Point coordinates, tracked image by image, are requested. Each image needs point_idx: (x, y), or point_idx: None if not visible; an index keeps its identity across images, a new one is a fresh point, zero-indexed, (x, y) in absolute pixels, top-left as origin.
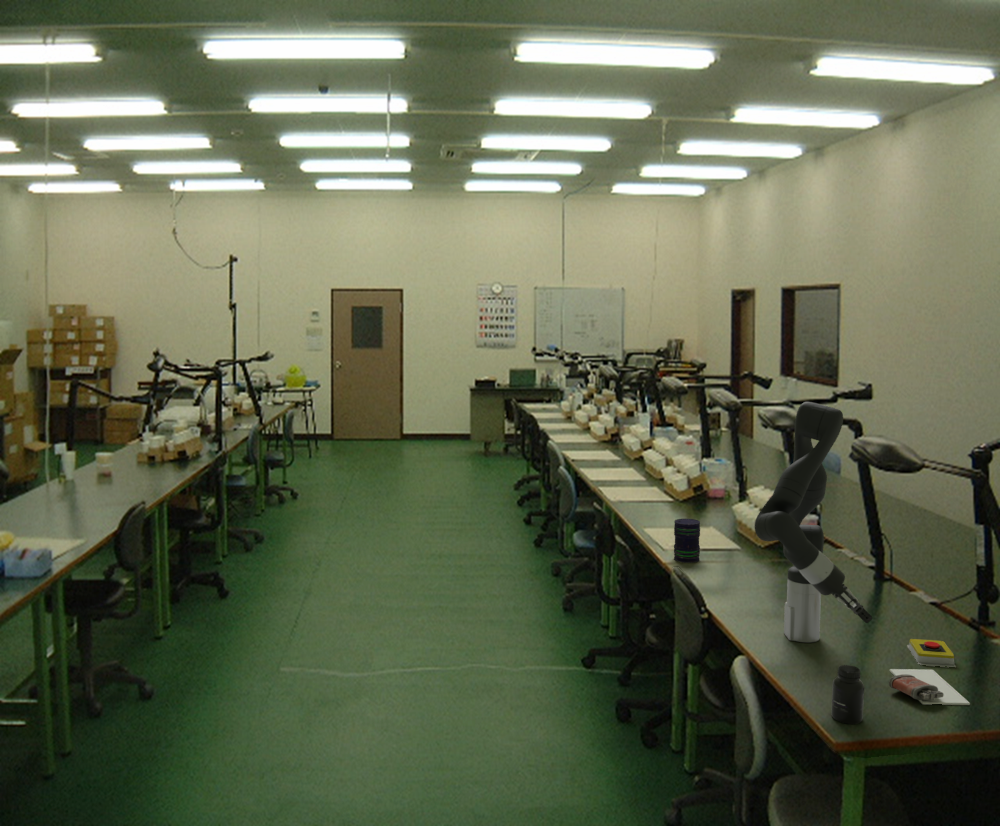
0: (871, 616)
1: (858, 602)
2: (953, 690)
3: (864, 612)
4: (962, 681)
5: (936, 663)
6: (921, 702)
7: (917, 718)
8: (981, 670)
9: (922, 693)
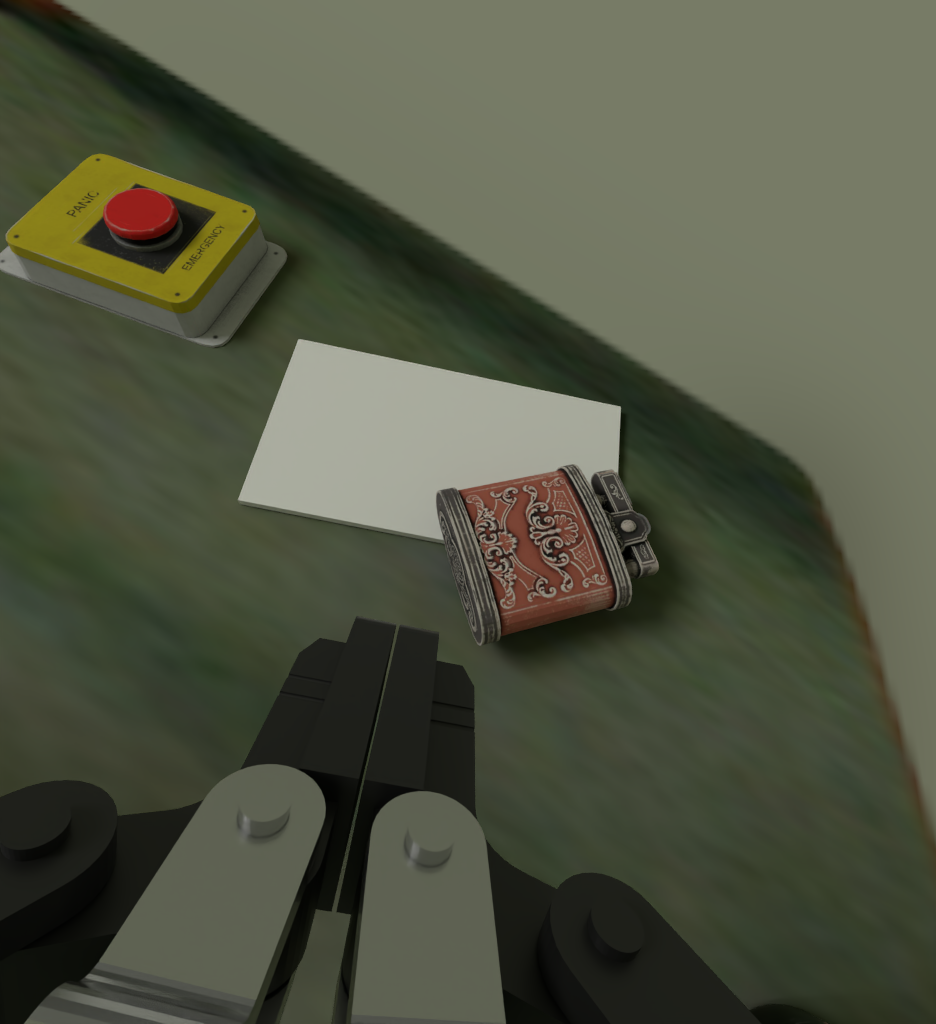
0: (436, 642)
1: (248, 825)
2: (508, 391)
3: (474, 785)
4: (413, 308)
5: (236, 287)
6: None
7: (746, 682)
8: (335, 202)
9: (641, 566)
